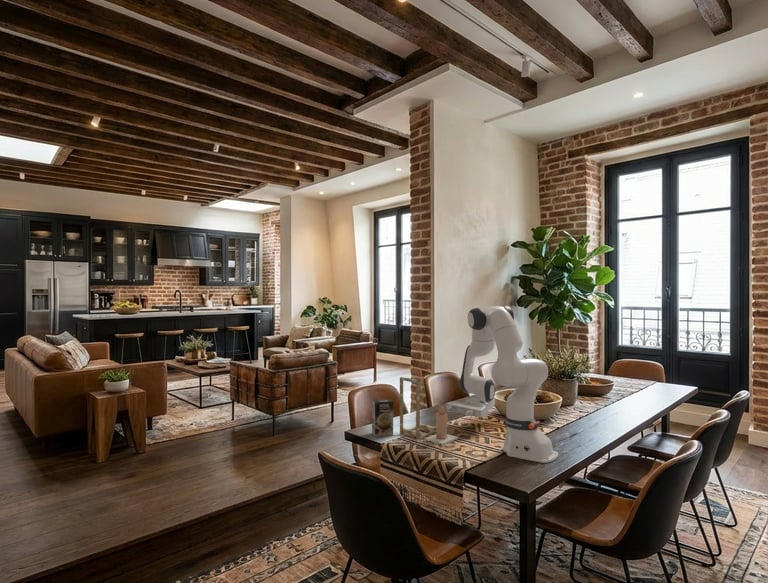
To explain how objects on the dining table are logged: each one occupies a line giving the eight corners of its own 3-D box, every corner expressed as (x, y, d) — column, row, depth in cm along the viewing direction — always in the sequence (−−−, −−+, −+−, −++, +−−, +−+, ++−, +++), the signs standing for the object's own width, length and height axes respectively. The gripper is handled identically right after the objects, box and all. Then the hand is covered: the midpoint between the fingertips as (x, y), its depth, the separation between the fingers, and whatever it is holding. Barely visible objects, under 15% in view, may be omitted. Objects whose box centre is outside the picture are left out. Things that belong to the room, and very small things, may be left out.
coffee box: (375, 437, 216) (375, 402, 216) (371, 432, 222) (371, 399, 222) (393, 435, 218) (393, 401, 218) (390, 431, 224) (389, 398, 224)
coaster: (458, 438, 213) (458, 437, 213) (442, 445, 204) (442, 443, 204) (440, 434, 220) (440, 432, 220) (424, 440, 211) (424, 438, 211)
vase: (449, 437, 212) (449, 407, 212) (443, 440, 209) (443, 409, 209) (440, 435, 216) (440, 405, 216) (434, 437, 212) (434, 407, 212)
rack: (436, 432, 222) (436, 376, 222) (418, 439, 212) (418, 380, 212) (418, 427, 230) (418, 373, 230) (399, 434, 220) (399, 377, 220)
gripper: (455, 397, 238) (439, 401, 228) (490, 403, 224) (474, 409, 214) (455, 409, 238) (439, 414, 228) (490, 416, 224) (474, 423, 214)
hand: (456, 412), depth 221 cm, fingers open, 8 cm apart
